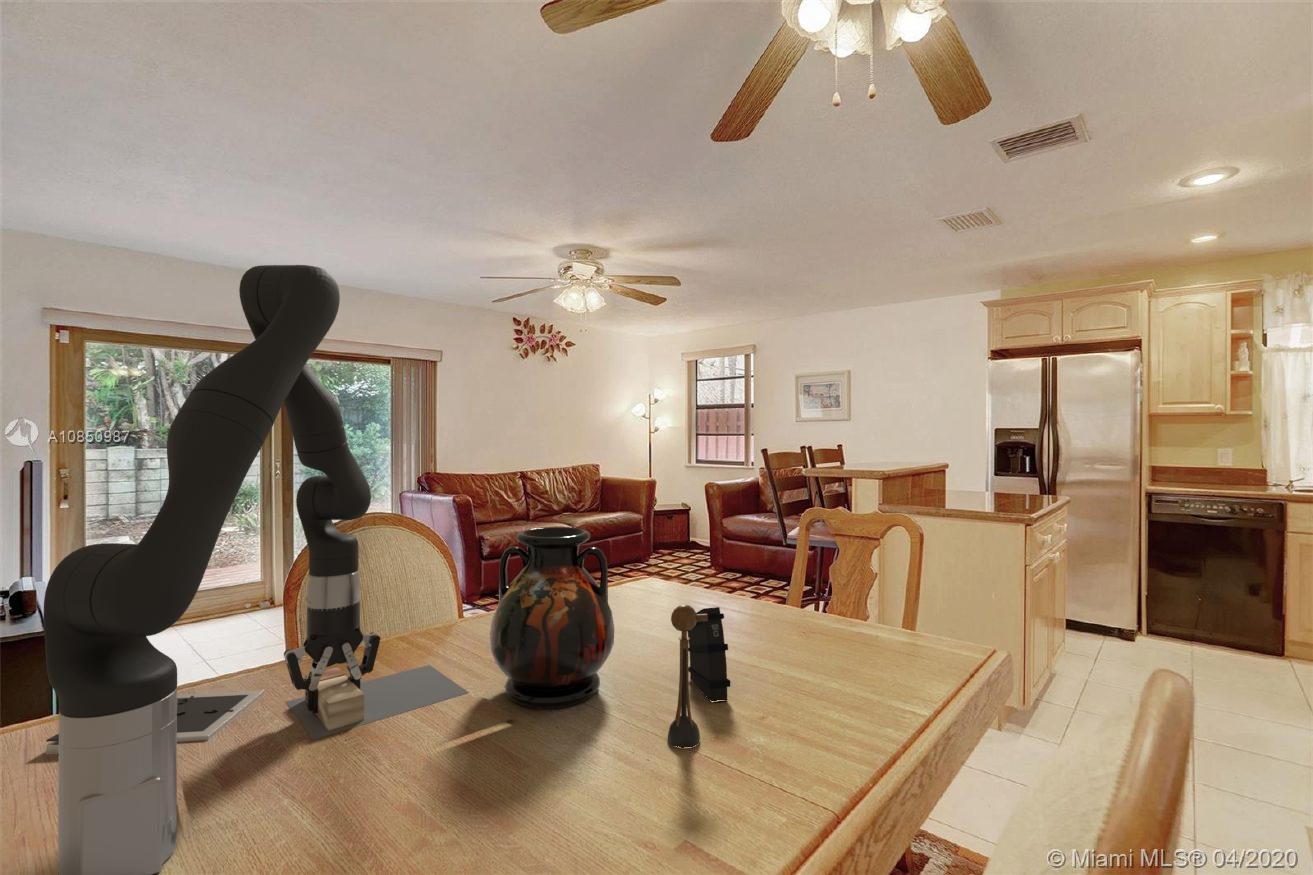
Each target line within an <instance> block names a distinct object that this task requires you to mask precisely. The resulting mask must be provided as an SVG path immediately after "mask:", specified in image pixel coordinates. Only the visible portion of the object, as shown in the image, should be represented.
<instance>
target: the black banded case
mask: <svg viewBox="0 0 1313 875" xmlns="http://www.w3.org/2000/svg"><path fill="white" fill-rule="evenodd" d="M696 614H707V615H708V621H702V622H696V625H695V627H694V628H693V629H692V630H689V631H687V637H689V638H690V639H689V646H688V652H689V666H688V673H689V679H690V680H692V681H691V682H692V683H693V682H694V683H693V684H694V685H695V686H696V687H697V689H700V690H701V691H702V692H703V693H702V692H701V691H700V690H699V691H700V692H701V693H702V694H703V695H704V696H705V697H706V696H707V697H706V699H707V698H708V699H709V700H711V701H717V700H727V701H728V688H730V687H731V680H730V679H729V678H728V669H727V665H728V664H727V655H726V651H728V650H729V644H728V643H725V634H724V627H723V622H722V620H723V619H725V614H724V613H721V609H720V606H718V607H717V606H716V607H715V606H714V607H708V608H707V607H706V608H702V609H700V610H698V611H697V612H696ZM708 699H707V700H708ZM709 700H708V701H709Z"/></svg>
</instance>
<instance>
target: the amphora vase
mask: <svg viewBox="0 0 1313 875" xmlns="http://www.w3.org/2000/svg"><path fill="white" fill-rule="evenodd" d="M590 538H591V534H590V532H589V531H587V530H586V529H582V528H579V527H578V528H576V527H566V526H565V527H564V526H563V527H562V526H561V527H560V526H559V527H557V526H556V527H555V526H553V527H540V528H539V527H537V528H530V529H526V530H522V531H520V532H518V533H517V535H516V536H515V539H516V541H517V542H518V543H520V544H521V545H524V546H526V550H527V551H526V550H524V549H523V548H522V547H520V546H514V545H513V546H509V547H508V548H506V549H505V550H504V552H503V554H502V556H501V557H500V559H499V560H500V561H499V569H498V570H499V571H498V572H499V573H498V578H499V581H498V582H499V585H498V587H499V588H498V589H499V590H498V604H497V606H496V609H495V612H494V614H493V616H492V619H491V625H490V631H489V643H490V644H489V647H490V650H491V654H492V657H493V659H494V662H495V664H496V665H497V667H498V668H499V670H500V671H501V672H502V673H503V674H504V675H505V676H506V677H508V678H507V680H506V681H505V685H504V692H505V694H506V696H507V697H508V698H509V699H510V700H512V701H513V702H514V703H515V704H518V705H521V706H525V707H528V708H531V709H532V708H533V709H543V710H544V709H559V708H566V707H569V706H574V705H577V704H579V703H582V702H584V701H587V700H588V699H590V698H591V697H592V696H594V695H595V693H596V692H597V691H598V689H599V688H600V685H601V678H600V676H599V674H598V671H600V669H601V668H602V667H603V665H604V664H605V663H606V661H607V660H608V657H609V656H610V655H611V653H612V650H613V647H614V644H615V624H614V617H613V612H612V609H611V607H610V604H609V579H608V578H609V577H608V563H607V557H606V556H605V554H604V552H603V550H602V549H600V548H598V547H597V546H596V547H595V546H589V547H586V548H585V549H583V550H582V551H581V552H580V553H579V550H580V546H581V545H582V544H584V543H586V542H587V541H589V540H590ZM513 554H515V555H518V556H519V558H521V560H522V568H523V569H522V570H521V571H520V572H519V573H518V575H517V576H516V577H514V579H513V580H512V581H511V582H510V583H509V580H508V564H509V559H510V557H511V555H513ZM588 555H594V556H595V557H596V558H597V560H598V562H599V568H600V579H599V580H600V581H599V584H598V582H597V581H596V580H595V579H594V577H593V576H592V575H591V574H590V573H589V571H587V569H585V567H584V563H585V558H586V557H587V556H588Z"/></svg>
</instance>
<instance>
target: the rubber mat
mask: <svg viewBox="0 0 1313 875" xmlns="http://www.w3.org/2000/svg"><path fill="white" fill-rule="evenodd" d="M360 690H361V691H362V692H363V693H364V720H362V721H359V722H355V723H352V724H349V725H345V726H342V727H339V728H335V729H332V730H328V729H327V728H326V727H325V725H324V724H323V723H322V721H321V720H320V719H319V718H318V716H317V715H316V714H315V713H314V714H313V713H312V712H311V711H309V710H308V709H307V707H306V701H305V696H302V697H298V698H295V699H290V700H287V701H285V703H286V705H287V706H288V708H289V709H290V711H291V712H292V713H293V715H294V717H296V719H297V720H298V722H299V723H300V724H301V726H302V727H303V729H304V731H305V732H306V733H307V734H308V736H309V738H310V739H311V741H315V740H317V739H322V738H324V737H327V736H332V735H335V734H338V733H340V732H341V733H342V732H343V731H347V730H351V729H355V728H357V727H360V726H364V725H367V724H370V723H374V722H377V721H381V720H383V719H387V718H390V717H394V716H398V715H401V714H405V713H407V712H410V711H414V710H417V709H420V708H424V707H427V706H430V705H433V704H437V703H439V702H443V701H446V700H447V701H448V700H450V699H453V698H456V697H461V696H462V695H463V696H464V695H467V694H470V692H469V691H468V690H466V688H464V687H462V686H461V685H459V684H458V683H456V682H455V681H454V680H452V679H450V678H449V677H447V676H446V675H445V674H443V673H442V672H440V671H439V670H438V669H436V668H435V667H433V666H432V665H430V664H427V665H424V666H420V667H416V668H412V669H411V668H410V669H408V670H404V671H400V672H396V673H392V674H388V675H385V676H381V677H377V678H372V679H369V680H365V681H362V682H361V681H360Z"/></svg>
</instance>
